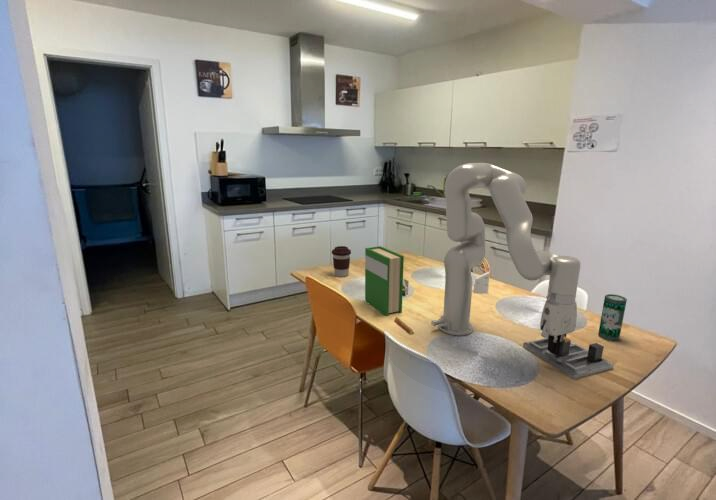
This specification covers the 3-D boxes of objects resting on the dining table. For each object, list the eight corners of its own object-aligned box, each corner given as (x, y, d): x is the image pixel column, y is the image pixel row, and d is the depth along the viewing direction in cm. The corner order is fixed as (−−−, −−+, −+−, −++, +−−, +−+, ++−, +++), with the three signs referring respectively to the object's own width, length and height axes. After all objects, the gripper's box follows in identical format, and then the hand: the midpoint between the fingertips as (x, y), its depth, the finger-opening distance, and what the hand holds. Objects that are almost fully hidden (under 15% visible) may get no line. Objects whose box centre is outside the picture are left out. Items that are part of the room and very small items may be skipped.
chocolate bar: (408, 335, 138) (409, 330, 138) (393, 322, 149) (393, 317, 148) (415, 334, 139) (415, 329, 139) (399, 321, 150) (399, 316, 149)
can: (596, 336, 137) (603, 297, 133) (601, 331, 141) (608, 292, 137) (616, 342, 133) (624, 302, 129) (620, 337, 137) (628, 297, 133)
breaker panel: (574, 379, 112) (577, 358, 110) (522, 347, 130) (525, 328, 128) (613, 368, 117) (616, 348, 115) (558, 339, 135) (561, 321, 134)
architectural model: (402, 297, 174) (402, 282, 172) (393, 293, 179) (393, 277, 178) (408, 296, 176) (408, 280, 174) (398, 291, 181) (399, 276, 179)
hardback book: (401, 312, 157) (403, 255, 151) (386, 316, 154) (387, 258, 148) (379, 298, 172) (380, 246, 166) (365, 301, 169) (365, 248, 163)
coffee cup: (330, 273, 207) (329, 246, 203) (348, 271, 209) (347, 244, 206) (334, 278, 197) (334, 250, 194) (353, 277, 200) (353, 249, 196)
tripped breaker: (561, 356, 121) (563, 340, 119) (555, 352, 123) (557, 337, 122) (568, 354, 122) (571, 339, 120) (562, 350, 124) (564, 335, 123)
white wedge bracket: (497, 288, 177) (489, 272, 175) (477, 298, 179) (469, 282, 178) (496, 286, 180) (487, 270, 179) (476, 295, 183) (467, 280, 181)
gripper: (552, 304, 110) (544, 362, 115) (590, 298, 115) (581, 353, 120) (532, 295, 117) (525, 350, 122) (569, 289, 122) (561, 342, 127)
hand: (553, 351), depth 121 cm, fingers closed
